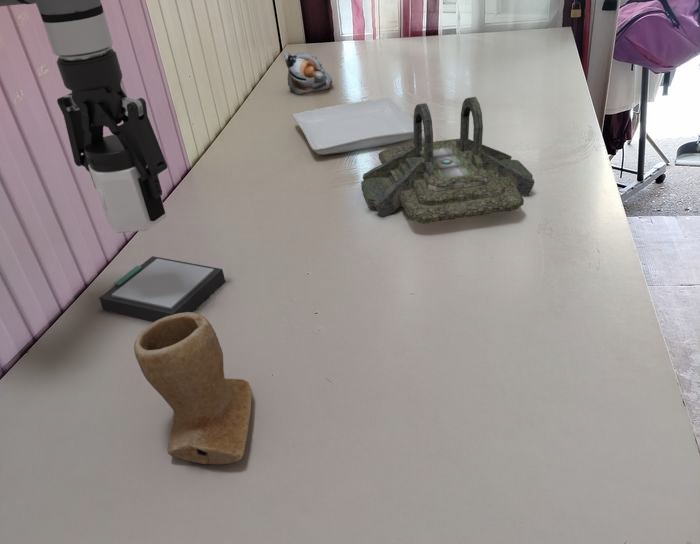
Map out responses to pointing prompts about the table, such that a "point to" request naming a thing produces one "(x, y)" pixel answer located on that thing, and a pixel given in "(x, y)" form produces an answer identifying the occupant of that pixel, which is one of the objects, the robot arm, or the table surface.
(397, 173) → the grey stone stepped platform
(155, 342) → the clay smoking pipe
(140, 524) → the table surface
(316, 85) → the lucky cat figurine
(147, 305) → the scale
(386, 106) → the square plate
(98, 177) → the jar
